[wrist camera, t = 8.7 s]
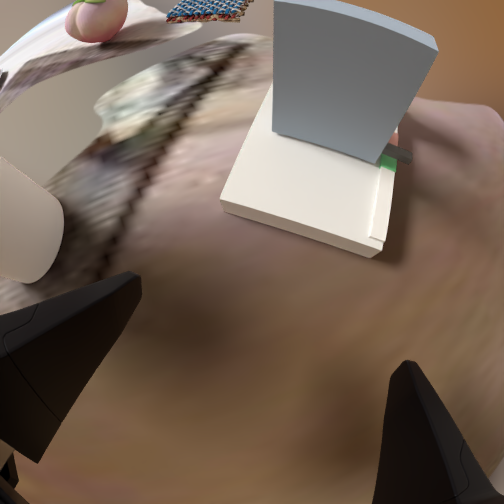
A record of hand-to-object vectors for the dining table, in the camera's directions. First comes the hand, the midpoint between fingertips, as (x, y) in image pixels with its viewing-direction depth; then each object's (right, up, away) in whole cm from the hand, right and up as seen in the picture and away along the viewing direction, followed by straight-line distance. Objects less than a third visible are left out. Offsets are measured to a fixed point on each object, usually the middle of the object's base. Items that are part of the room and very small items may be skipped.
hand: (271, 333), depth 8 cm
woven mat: (-6, +36, +19) cm, 41 cm away
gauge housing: (+5, +10, +11) cm, 16 cm away
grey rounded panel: (+6, +10, +9) cm, 15 cm away
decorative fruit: (-21, +32, +18) cm, 42 cm away
